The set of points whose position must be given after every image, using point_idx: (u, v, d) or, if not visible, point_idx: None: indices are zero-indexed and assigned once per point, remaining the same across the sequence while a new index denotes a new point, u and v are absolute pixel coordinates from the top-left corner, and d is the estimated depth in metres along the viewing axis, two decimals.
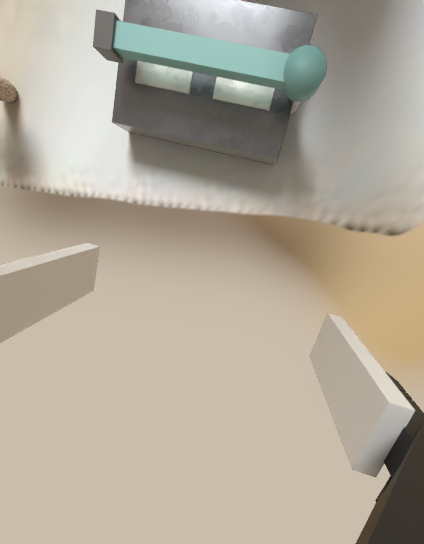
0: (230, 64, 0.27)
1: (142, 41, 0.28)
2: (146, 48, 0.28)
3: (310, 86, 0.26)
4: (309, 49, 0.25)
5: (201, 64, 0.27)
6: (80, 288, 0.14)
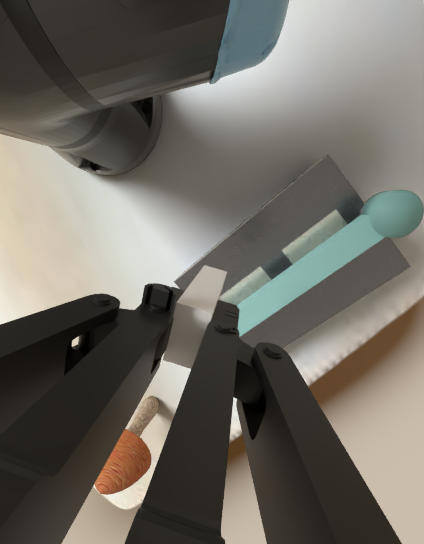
0: (326, 270, 0.25)
1: (244, 322, 0.28)
2: (251, 323, 0.28)
3: (416, 219, 0.23)
4: (385, 200, 0.23)
5: (303, 292, 0.26)
6: None
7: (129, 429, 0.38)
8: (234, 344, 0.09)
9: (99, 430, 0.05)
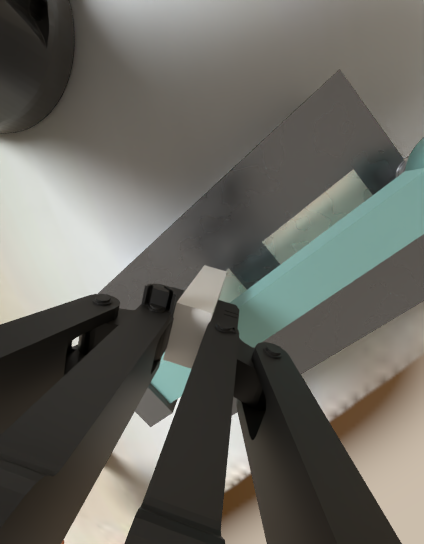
0: (339, 277, 0.13)
1: None
2: None
3: None
4: None
5: (297, 317, 0.14)
6: None
7: None
8: (234, 344, 0.09)
9: (99, 430, 0.05)
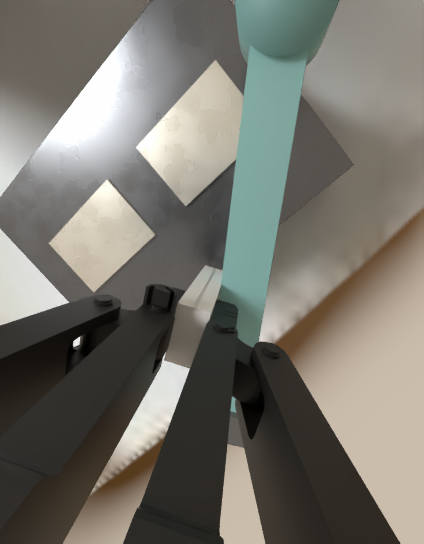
0: (271, 191, 0.12)
1: None
2: None
3: None
4: None
5: (272, 253, 0.13)
6: None
7: None
8: (233, 343, 0.09)
9: (100, 431, 0.05)
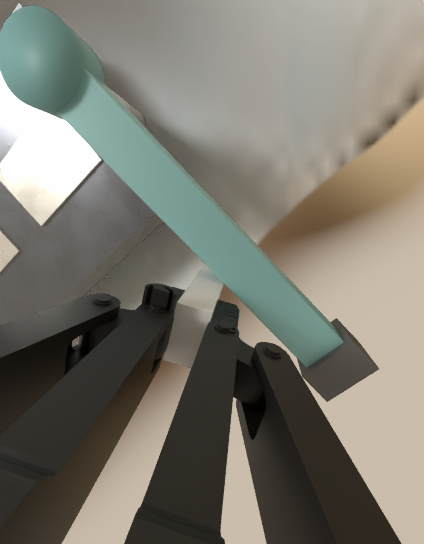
0: (163, 168, 0.13)
1: (287, 312, 0.14)
2: (288, 298, 0.14)
3: (35, 17, 0.12)
4: (20, 91, 0.13)
5: (211, 205, 0.13)
6: None
7: None
8: (234, 344, 0.09)
9: (99, 430, 0.05)
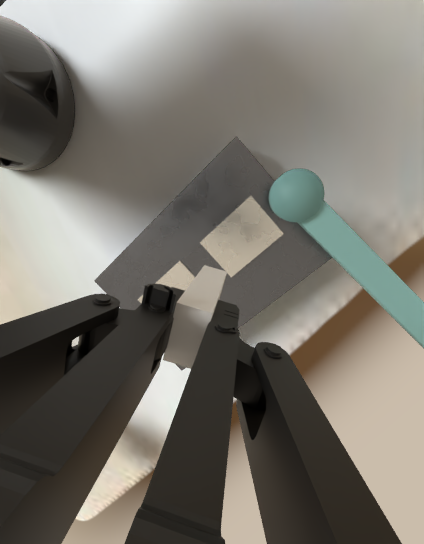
0: (366, 254, 0.21)
1: None
2: None
3: (301, 174, 0.20)
4: (282, 212, 0.21)
5: (395, 275, 0.21)
6: None
7: None
8: (234, 344, 0.09)
9: (98, 430, 0.05)
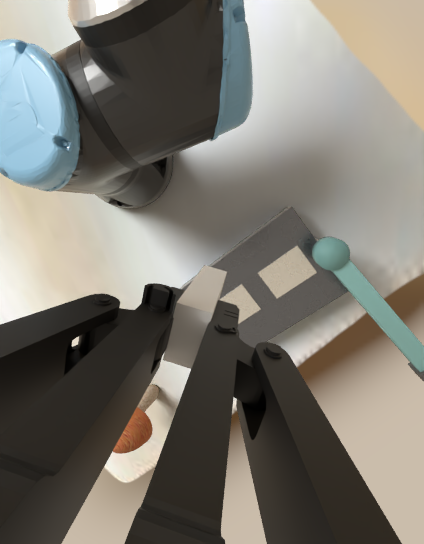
0: (372, 293, 0.34)
1: (415, 349, 0.35)
2: (416, 344, 0.35)
3: (336, 242, 0.33)
4: (322, 263, 0.34)
5: (390, 308, 0.34)
6: None
7: None
8: (234, 344, 0.09)
9: (98, 430, 0.05)
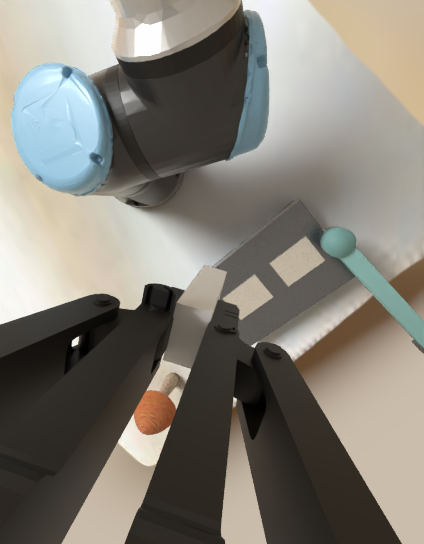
0: (378, 277, 0.37)
1: (418, 327, 0.38)
2: (419, 322, 0.38)
3: (343, 231, 0.36)
4: (330, 252, 0.37)
5: (394, 290, 0.37)
6: None
7: None
8: (234, 344, 0.09)
9: (99, 430, 0.05)
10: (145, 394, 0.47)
